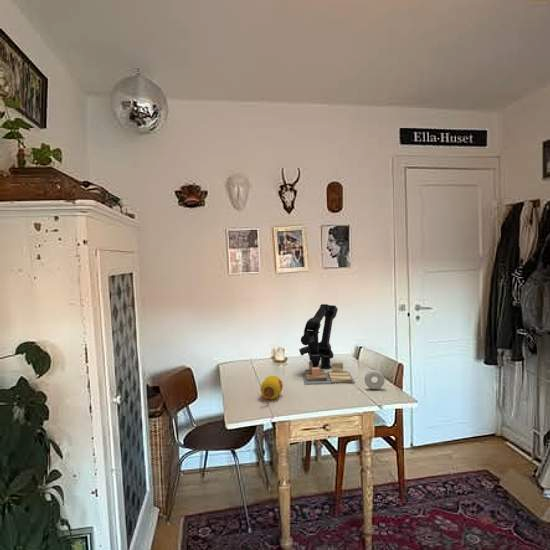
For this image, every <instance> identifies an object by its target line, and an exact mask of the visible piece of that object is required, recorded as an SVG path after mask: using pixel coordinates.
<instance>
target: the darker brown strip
mask: <svg viewBox="0 0 550 550" xmlns="http://www.w3.org/2000/svg"><path fill="white" fill-rule="evenodd" d="M320 365H321V364H320V363H319V364H318V367H319V369H320V376H312V367H313V363H312V362H311V361H310V360H309V361H308V369H304V373H305V375H306V379H307V381H316V380H327V377H326V374H325V373H326V372H325V368H321V367H320Z"/></svg>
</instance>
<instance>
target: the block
mask: <svg viewBox="0 0 550 550" xmlns="http://www.w3.org/2000/svg"><path fill="white" fill-rule="evenodd" d="M320 369H321V368H320ZM320 369H319V367H312V376H320Z"/></svg>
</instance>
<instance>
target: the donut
mask: <svg viewBox="0 0 550 550" xmlns="http://www.w3.org/2000/svg"><path fill="white" fill-rule="evenodd" d="M372 378H377V381H376V382H373V381H372ZM385 381H386V380H385V375H384V374H383V373H382V371H379V370H377V369H371V370H369V371H367V372H366V374H365V375H364V384H365V385H366V386H367V387H368V389H371V390H374V389H376V390H379V389H381V388H382V387H383V386H384V385H385Z"/></svg>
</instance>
